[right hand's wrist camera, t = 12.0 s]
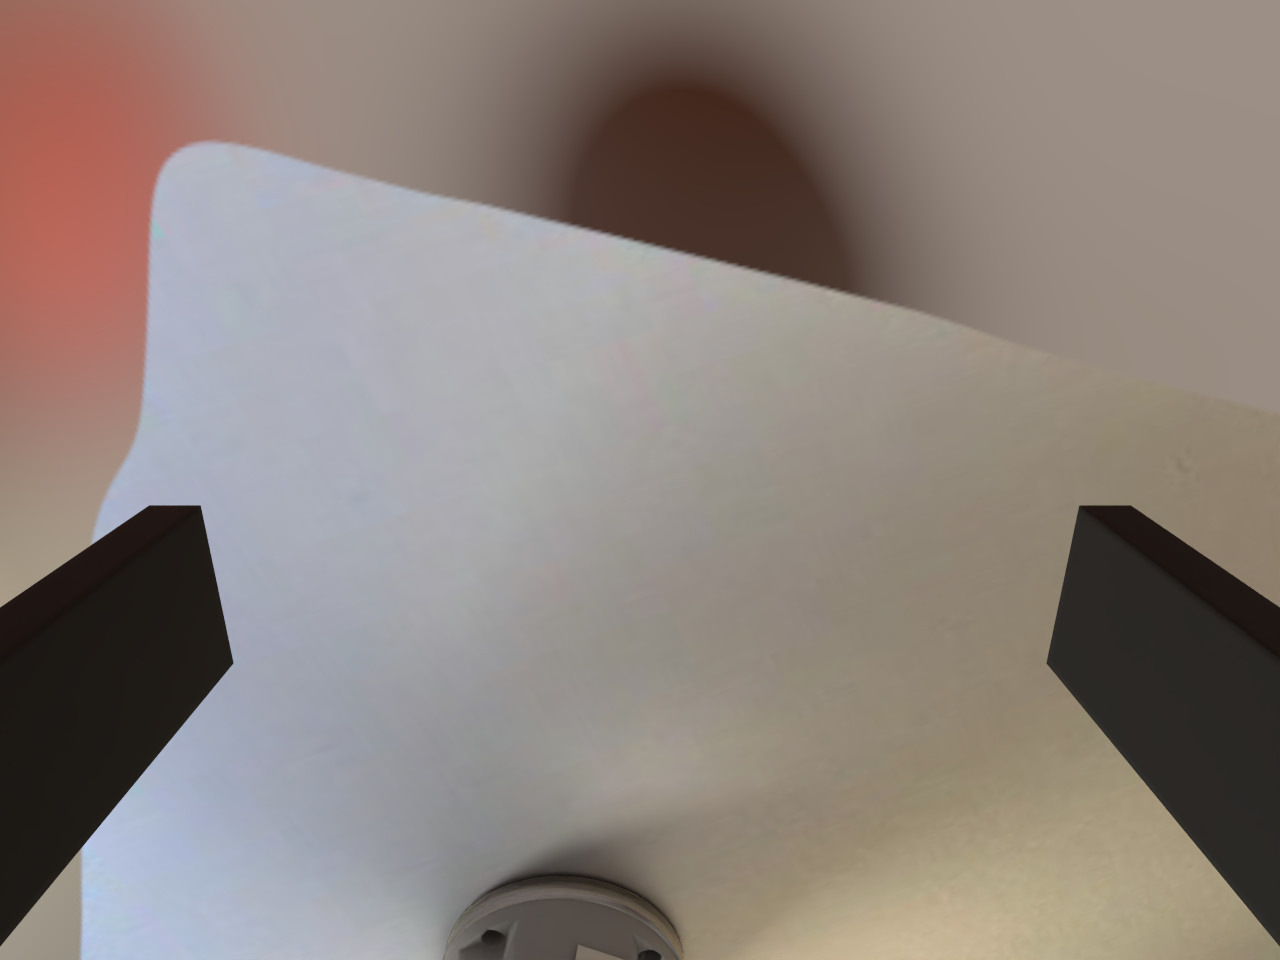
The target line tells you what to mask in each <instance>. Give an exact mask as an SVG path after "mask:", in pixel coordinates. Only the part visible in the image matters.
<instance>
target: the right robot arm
mask: <svg viewBox="0 0 1280 960" xmlns="http://www.w3.org/2000/svg"><path fill="white" fill-rule="evenodd" d="M232 664H233V659H232V654H231V649H230V645H229V640H228V635H227V630H226V625H225V620H224V616H223V611H222V606H221V601H220V596H219V592H218V587H217V582H216V577H215V572H214V568H213V563H212V558H211V553H210V548H209V544H208V539H207V534H206V529H205V524H204V520H203V515H202V510H201V506H148V507H146V508H145V509H144V510H142V511H141V512H139V513H138V514H136V515H135V516H133V517H132V518H130V519H129V520H127V521H126V522H125V523H123V524H122V525H120V526H119V527H117V528H116V529H114V530H113V531H111V532H110V533H109V534H107V535H106V536H104V537H103V538H101V539H100V540H98V541H97V542H95V543H94V544H92V545H91V546H90V547H88V548H87V549H85V550H84V551H82V552H81V553H79V554H78V555H76V556H75V557H73V558H72V559H71V560H69V561H68V562H66V563H65V564H63V565H62V566H60V567H59V568H57V569H56V570H54V571H53V572H52V573H50V574H49V575H47V576H46V577H44V578H43V579H41V580H40V581H38V582H37V583H35V584H34V585H33V586H31V587H30V588H28V589H27V590H25V591H24V592H22V593H21V594H19V595H18V596H16V597H15V598H14V599H12V600H11V601H9V602H8V603H6V604H5V605H3V606H2V607H0V946H1V945H2V944H3V942H4V941H5V940H6V939H7V938H8V936H9V935H10V934H11V933H12V931H13V930H14V929H15V928H16V926H17V925H18V924H19V923H20V922H21V921H22V919H23V918H24V917H25V916H26V914H27V913H28V912H29V911H30V910H31V908H32V907H33V906H34V905H35V903H36V902H37V901H38V900H39V899H40V897H41V896H42V895H43V894H44V893H45V891H46V890H47V889H48V888H49V887H50V885H51V884H52V883H53V882H54V880H55V879H56V878H57V877H58V876H59V874H60V873H61V872H62V871H63V870H64V868H65V867H66V866H67V865H68V863H69V862H70V861H71V860H72V859H73V857H74V856H75V855H76V854H77V853H78V851H79V850H80V849H81V848H82V846H83V845H84V844H85V843H86V842H87V840H88V839H89V838H90V837H91V836H92V834H93V833H94V832H95V831H96V829H97V828H98V827H99V826H100V825H101V823H102V822H103V821H104V820H105V819H106V817H107V816H108V815H109V814H110V812H111V811H112V810H113V809H114V808H115V806H116V805H117V804H118V803H119V802H120V800H121V799H122V798H123V797H124V795H125V794H126V793H127V792H128V791H129V789H130V788H131V787H132V786H133V785H134V783H135V782H136V781H137V780H138V778H139V777H140V776H141V775H142V774H143V772H144V771H145V770H146V769H147V768H148V766H149V765H150V764H151V763H152V761H153V760H154V759H155V758H156V757H157V755H158V754H159V753H160V752H161V751H162V749H163V748H164V747H165V746H166V745H167V743H168V742H169V741H170V740H171V738H172V737H173V736H174V735H175V734H176V732H177V731H178V730H179V729H180V728H181V726H182V725H183V724H184V723H185V721H186V720H187V719H188V718H189V717H190V715H191V714H192V713H193V712H194V711H195V709H196V708H197V707H198V706H199V704H200V703H201V702H202V701H203V700H204V698H205V697H206V696H207V695H208V694H209V692H210V691H211V690H212V689H213V687H214V686H215V685H216V684H217V683H218V681H219V680H220V679H221V678H222V677H223V675H224V674H225V673H226V672H227V670H228V669H229V668H230V667H231V666H232ZM1047 664H1048V666H1049V667H1050V668H1051V669H1052V670H1053V672H1054V673H1055V674H1056V675H1057V677H1058V678H1059V679H1060V680H1061V681H1062V683H1063V684H1064V685H1065V686H1066V687H1067V689H1068V690H1069V691H1070V692H1071V694H1072V695H1073V696H1074V697H1075V698H1076V700H1077V701H1078V702H1079V703H1080V704H1081V706H1082V707H1083V708H1084V709H1085V711H1086V712H1087V713H1088V714H1089V715H1090V717H1091V718H1092V719H1093V720H1094V721H1095V723H1096V724H1097V725H1098V726H1099V728H1100V729H1101V730H1102V731H1103V732H1104V734H1105V735H1106V736H1107V737H1108V738H1109V740H1110V741H1111V742H1112V743H1113V745H1114V746H1115V747H1116V748H1117V749H1118V751H1119V752H1120V753H1121V754H1122V755H1123V757H1124V758H1125V759H1126V760H1127V761H1128V763H1129V764H1130V765H1131V766H1132V768H1133V769H1134V770H1135V771H1136V772H1137V774H1138V775H1139V776H1140V777H1141V778H1142V780H1143V781H1144V782H1145V783H1146V785H1147V786H1148V787H1149V788H1150V789H1151V791H1152V792H1153V793H1154V794H1155V795H1156V797H1157V798H1158V799H1159V800H1160V802H1161V803H1162V804H1163V805H1164V806H1165V808H1166V809H1167V810H1168V811H1169V812H1170V814H1171V815H1172V816H1173V817H1174V819H1175V820H1176V821H1177V822H1178V823H1179V825H1180V826H1181V827H1182V828H1183V829H1184V831H1185V832H1186V833H1187V834H1188V836H1189V837H1190V838H1191V839H1192V840H1193V842H1194V843H1195V844H1196V845H1197V846H1198V848H1199V849H1200V850H1201V851H1202V853H1203V854H1204V855H1205V856H1206V857H1207V859H1208V860H1209V861H1210V862H1211V863H1212V865H1213V866H1214V867H1215V868H1216V870H1217V871H1218V872H1219V873H1220V874H1221V876H1222V877H1223V878H1224V879H1225V880H1226V882H1227V883H1228V884H1229V885H1230V887H1231V888H1232V889H1233V890H1234V891H1235V893H1236V894H1237V895H1238V896H1239V897H1240V899H1241V900H1242V901H1243V902H1244V904H1245V905H1246V906H1247V907H1248V908H1249V910H1250V911H1251V912H1252V913H1253V914H1254V916H1255V917H1256V918H1257V919H1258V921H1259V922H1260V923H1261V924H1262V925H1263V927H1264V928H1265V929H1266V930H1267V931H1268V933H1269V934H1270V935H1271V936H1272V938H1273V939H1274V940H1275V941H1276V942H1277V944H1278V945H1279V946H1280V607H1278V606H1277V605H1275V604H1274V603H1272V602H1271V601H1269V600H1268V599H1266V598H1265V597H1264V596H1262V595H1261V594H1259V593H1258V592H1256V591H1255V590H1253V589H1252V588H1250V587H1249V586H1247V585H1246V584H1245V583H1243V582H1242V581H1240V580H1239V579H1237V578H1236V577H1234V576H1233V575H1231V574H1230V573H1228V572H1227V571H1226V570H1224V569H1223V568H1221V567H1220V566H1218V565H1217V564H1215V563H1214V562H1212V561H1211V560H1209V559H1208V558H1207V557H1205V556H1204V555H1202V554H1201V553H1199V552H1198V551H1196V550H1195V549H1193V548H1192V547H1190V546H1189V545H1188V544H1186V543H1185V542H1183V541H1182V540H1180V539H1179V538H1177V537H1176V536H1174V535H1173V534H1171V533H1170V532H1169V531H1167V530H1166V529H1164V528H1163V527H1161V526H1160V525H1158V524H1157V523H1155V522H1154V521H1153V520H1151V519H1150V518H1148V517H1147V516H1145V515H1144V514H1142V513H1141V512H1139V511H1138V510H1136V509H1135V508H1134V507H1132V506H1079V510H1078V515H1077V520H1076V524H1075V529H1074V534H1073V539H1072V544H1071V548H1070V553H1069V558H1068V563H1067V568H1066V572H1065V577H1064V582H1063V587H1062V592H1061V596H1060V601H1059V606H1058V611H1057V616H1056V620H1055V625H1054V630H1053V635H1052V640H1051V645H1050V649H1049V654H1048V659H1047ZM443 960H684V959H683V952H682V947H681V944H680V942H679V939H678V937H677V935H676V933H675V931H674V929H673V928H672V926H671V925H670V923H669V922H668V921H667V920H666V919H665V917H664V916H663V915H662V914H661V913H660V912H659V911H658V910H657V909H656V908H654V907H653V906H652V905H651V904H649V903H648V902H647V901H645V900H644V899H642V898H640V897H639V896H637V895H635V894H633V893H632V892H630V891H628V890H625V889H623V888H621V887H618V886H616V885H613V884H610V883H607V882H603V881H599V880H595V879H589V878H584V877H574V876H545V877H537V878H531V879H526V880H521V881H518V882H514V883H511V884H508V885H506V886H503V887H500V888H498V889H496V890H494V891H492V892H490V893H488V894H487V895H485V896H483V897H482V898H480V899H479V900H478V901H476V902H475V903H474V904H472V905H471V906H470V907H469V908H468V909H467V910H466V911H465V912H464V913H463V914H462V916H461V917H460V918H459V919H458V921H457V922H456V924H455V926H454V927H453V929H452V931H451V934H450V936H449V939H448V942H447V946H446V950H445V954H444V958H443Z"/></svg>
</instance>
